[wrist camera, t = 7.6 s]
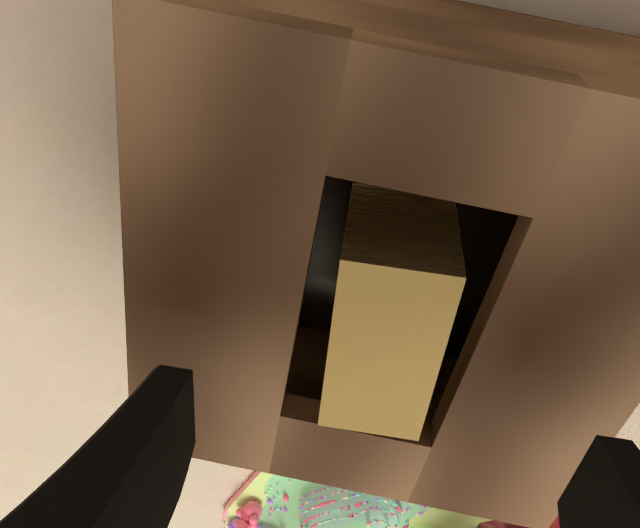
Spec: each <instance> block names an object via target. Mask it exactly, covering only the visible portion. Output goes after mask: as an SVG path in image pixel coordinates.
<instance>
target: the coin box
mask: <svg viewBox="0 0 640 528" xmlns="http://www.w3.org/2000/svg"><path fill="white" fill-rule="evenodd" d="M112 9H113V33H114V57H115V80H116V104H117V128H118V152H119V176H120V200H121V224H122V248H123V272H124V296H125V320H126V343H127V367H128V391H129V396H130V395H131V394H132V393H133V392H134V391H135V390H136V388H137V387H138V386H139V385H140V384H141V383H142V382H143V381H144V379H145V378H146V377H147V376H148V375H149V374H150V372H151V371H152V370H153V369H154V368H155V367H157V366H158V365H166V366H172V367H179V368H185V369H191V370H193V385H194V411H195V437H196V443H195V447H194V450H193V454H192V458H197V459H202V460H207V461H211V462H216V463H221V464H226V465H231V466H235V467H240V468H245V469H250V470H255V471H259V472H264V473H269V474H274V475H279V476H283V477H288V478H293V479H298V480H303V481H308V482H312V483H317V484H322V485H327V486H332V487H336V488H341V489H346V490H351V491H356V492H360V493H365V494H370V495H375V496H380V497H384V498H389V499H394V500H399V501H404V502H409V503H413V504H418V505H423V506H428V507H433V508H437V509H442V510H447V511H452V512H457V513H461V514H466V515H471V516H476V517H481V518H486V519H490V520H495V521H500V522H505V523H510V524H514V525H519V526H524V527H529V528H549V527H550V526H551V524H552V523H553V521H554V520H555V519H556V517H557V516H558V506H557V502H558V500H559V498H560V497H561V495H562V493H563V492H564V490H565V488H566V486H567V485H568V483H569V481H570V480H571V478H572V476H573V474H574V473H575V471H576V469H577V468H578V466H579V464H580V462H581V461H582V459H583V457H584V455H585V454H586V452H587V450H588V449H589V447H590V445H591V443H592V442H593V440H594V438H595V437H596V435H601V436H607V437H613V438H614V437H615V436H616V434H617V433H618V432H619V430H620V429H621V428H622V426H623V425H624V423H625V422H626V421H627V419H628V418H629V417H630V415H631V414H632V412H633V411H634V410H635V408H636V407H637V406H638V404H639V403H640V38H638V37H633V36H628V35H623V34H619V33H614V32H609V31H604V30H599V29H594V28H589V27H584V26H579V25H574V24H569V23H565V22H560V21H555V20H550V19H545V18H540V17H535V16H530V15H525V14H520V13H515V12H511V11H506V10H501V9H496V8H491V7H486V6H481V5H476V4H471V3H466V2H462V1H457V0H112ZM326 176H330V177H335V178H340V179H345V180H350V181H355V182H360V183H364V184H369V185H374V186H379V187H384V188H389V189H394V190H398V191H403V192H408V193H413V194H418V195H423V196H428V197H433V198H437V199H442V200H447V201H452V202H457V203H462V204H467V205H471V206H476V207H481V208H486V209H491V210H496V211H501V212H506V213H510V214H515V215H519V216H518V219H517V221H516V223H515V226H514V228H513V230H512V233H511V235H510V237H509V240H508V242H507V244H506V247H505V249H504V252H503V254H502V256H501V259H500V261H499V263H498V266H497V268H496V270H495V273H494V275H493V277H492V280H491V282H490V285H489V287H488V289H487V292H486V294H485V296H484V299H483V301H482V303H481V306H480V308H479V310H478V313H477V315H476V318H475V320H474V322H473V325H472V327H471V329H470V332H469V334H468V336H467V339H466V341H465V343H464V346H463V348H462V350H461V353H460V355H459V358H455V357H450V356H445V355H444V356H443V360H442V363H441V366H440V370H439V373H438V377H437V380H436V383H435V387H434V390H433V394H432V397H431V400H430V404H429V407H428V411H427V414H426V417H425V421H424V424H423V428H422V431H421V434H420V438H419V441H415V440H408V439H402V438H396V437H389V436H383V435H377V434H370V433H364V432H358V431H351V430H345V429H339V428H332V427H326V426H320V425H318V419H319V412H320V404H321V397H322V389H323V382H324V375H325V367H326V360H327V352H328V345H329V337H330V332H329V331H324V330H319V329H314V328H310V327H305V326H300V325H298V322H299V317H300V312H301V306H302V301H303V296H304V291H305V285H306V280H307V275H308V269H309V264H310V259H311V254H312V248H313V243H314V238H315V233H316V227H317V222H318V217H319V212H320V206H321V201H322V196H323V190H324V185H325V180H326Z"/></svg>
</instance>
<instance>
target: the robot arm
mask: <svg viewBox="0 0 640 528" xmlns="http://www.w3.org/2000/svg"><path fill="white" fill-rule="evenodd" d="M195 443H196V437H195V411H194V385H193V370H191V369H185V368H179V367H172V366H166V365H158V366H157V367H155V368H154V369H153V370H152V371H151V372H150V374H149V375H148V376H147V377H146V378H145V379H144V381H143V382H142V383H141V384H140V385H139V386H138V387H137V388H136V390H135V391H134V392H133V393H132V394H131V395H130V396H129V397H128V398H127V400H126V401H125V402H124V403H123V404H122V405H121V406H120V407H119V408H118V409H117V410H116V411H115V412H114V414H113V415H112V416H111V417H110V418H109V419H108V420H107V421H106V422H105V423H104V424H103V425H102V426H101V427H100V428H99V429H98V430H97V431H96V432H95V433H94V434H93V435H92V436H91V437H90V438H89V439H88V440H87V441H86V442H85V443H84V444H83V445H82V446H81V447H80V448H79V449H78V450H77V451H76V452H75V453H74V454H73V455H72V456H71V457H70V458H69V459H68V460H67V461H66V462H65V463H64V464H63V465H62V466H61V467H60V468H59V469H58V470H57V471H56V472H54V473H53V474H52V475H51V476H50V477H49V478H48V479H47V480H46V481H45V482H44V483H42V484H41V485H40V486H39V487H38V488H37V489H36V490H35V491H34V492H33V493H32V494H30V495H29V496H28V497H27V498H26V499H25V500H24V501H23V502H22V503H21V504H19V505H18V506H17V507H16V508H15V509H14V510H13V511H11V512H10V513H9V514H8V515H7V516H6V517H4V518H3V519H2V520H1V521H0V528H167V527H168V525H169V522H170V520H171V517H172V515H173V512H174V510H175V507H176V505H177V502H178V500H179V497H180V495H181V491H182V488H183V485H184V481H185V478H186V475H187V471H188V468H189V464H190V461H191V457H192V454H193V450H194V447H195ZM557 506H558V516H559V525H560V528H640V450H639V449H638V448H637V446H636V445H635V444H634V443H633V441H632V440H626V439H619V438H613V437H607V436H601V435H596V437H595V438H594V440H593V442H592V443H591V445H590V447H589V449H588V450H587V452H586V454H585V455H584V457H583V459H582V461H581V462H580V464H579V466H578V468H577V469H576V471H575V473H574V474H573V476H572V478H571V480H570V481H569V483H568V485H567V486H566V488H565V490H564V492H563V493H562V495H561V497H560V498H559V500H558V502H557Z"/></svg>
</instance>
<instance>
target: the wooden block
mask: <svg viewBox="0 0 640 528" xmlns="http://www.w3.org/2000/svg"><path fill="white" fill-rule="evenodd" d="M465 282H466V271H465V264H464V257H463V251H462V244H461V237H460V230H459V223H458V216H457V209H456V202H452V201H447V200H442V199H437V198H433V197H428V196H423V195H418V194H413V193H408V192H403V191H398V190H394V189H389V188H384V187H379V186H374V185H369V184H364V183H360V182H355V181H353V184H352V190H351V196H350V202H349V208H348V214H347V220H346V226H345V232H344V238H343V244H342V250H341V256H340V263H339V270H338V278H337V285H336V293H335V300H334V308H333V315H332V322H331V330H330V337H329V345H328V352H327V360H326V367H325V375H324V382H323V389H322V397H321V404H320V412H319V419H318V425H320V426H326V427H332V428H339V429H345V430H351V431H358V432H364V433H370V434H377V435H383V436H389V437H396V438H402V439H408V440H415V441H419V438H420V434H421V431H422V428H423V424H424V421H425V417H426V414H427V411H428V407H429V404H430V400H431V397H432V394H433V390H434V387H435V383H436V380H437V377H438V373H439V370H440V366H441V363H442V360H443V356H444V353H445V349H446V346H447V343H448V339H449V336H450V333H451V329H452V326H453V322H454V319H455V316H456V312H457V309H458V305H459V302H460V299H461V295H462V292H463V288H464V285H465Z"/></svg>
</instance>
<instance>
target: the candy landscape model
mask: <svg viewBox="0 0 640 528" xmlns="http://www.w3.org/2000/svg"><path fill="white" fill-rule="evenodd" d="M222 517H223V519H224V521H225V526H224V528H529V527H524V526H519V525H514V524H510V523H505V522H500V521H495V520H490V519H486V518H481V517H476V516H471V515H466V514H461V513H457V512H452V511H447V510H442V509H437V508H433V507H428V506H423V505H418V504H413V503H409V502H404V501H399V500H394V499H389V498H384V497H380V496H375V495H370V494H365V493H360V492H356V491H351V490H346V489H341V488H336V487H332V486H327V485H322V484H317V483H312V482H308V481H303V480H298V479H293V478H288V477H283V476H279V475H274V474H269V473H264V472H259V471H255V473H254V474H253V475H252V476H251V477H250V478H249V479H248V480H247V481H246V483H245V484H244V485H243V486H242V487H241V488H240V489H239V490H238V492H237V493H236V494H235V495H234V496H233V497H232V498H231V499H230V500H229V501H228V503H227V504H226V506H225V510H224V513H223V516H222ZM549 528H560V525H559V516H557V517H556V519H555V520H554V521H553V523H552V524H551V526H550V527H549Z"/></svg>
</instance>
